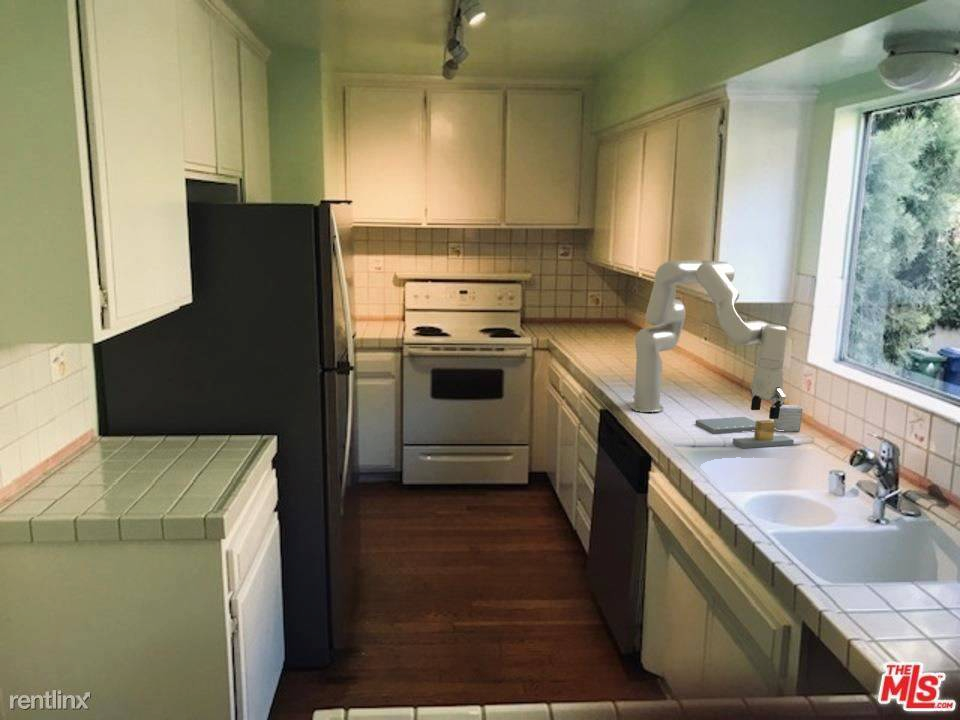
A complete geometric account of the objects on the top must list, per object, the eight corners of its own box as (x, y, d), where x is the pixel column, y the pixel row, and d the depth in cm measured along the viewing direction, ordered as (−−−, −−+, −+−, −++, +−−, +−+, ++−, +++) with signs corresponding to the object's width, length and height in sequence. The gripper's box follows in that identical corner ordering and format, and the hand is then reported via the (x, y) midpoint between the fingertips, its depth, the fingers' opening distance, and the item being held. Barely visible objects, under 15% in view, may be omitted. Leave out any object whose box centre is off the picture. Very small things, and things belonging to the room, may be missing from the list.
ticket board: (695, 424, 265) (695, 419, 264) (744, 420, 270) (744, 416, 269) (714, 434, 253) (714, 429, 253) (764, 430, 258) (765, 425, 258)
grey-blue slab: (732, 443, 244) (734, 420, 242) (782, 439, 248) (784, 417, 247) (742, 448, 238) (744, 425, 237) (793, 444, 243) (795, 422, 242)
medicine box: (794, 428, 262) (797, 404, 260) (800, 432, 257) (803, 408, 256) (772, 428, 261) (775, 404, 260) (778, 432, 257) (780, 408, 255)
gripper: (744, 357, 245) (738, 407, 249) (777, 370, 229) (770, 422, 233) (764, 357, 247) (758, 406, 251) (798, 369, 231) (791, 421, 235)
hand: (764, 414), depth 242 cm, fingers open, 9 cm apart
